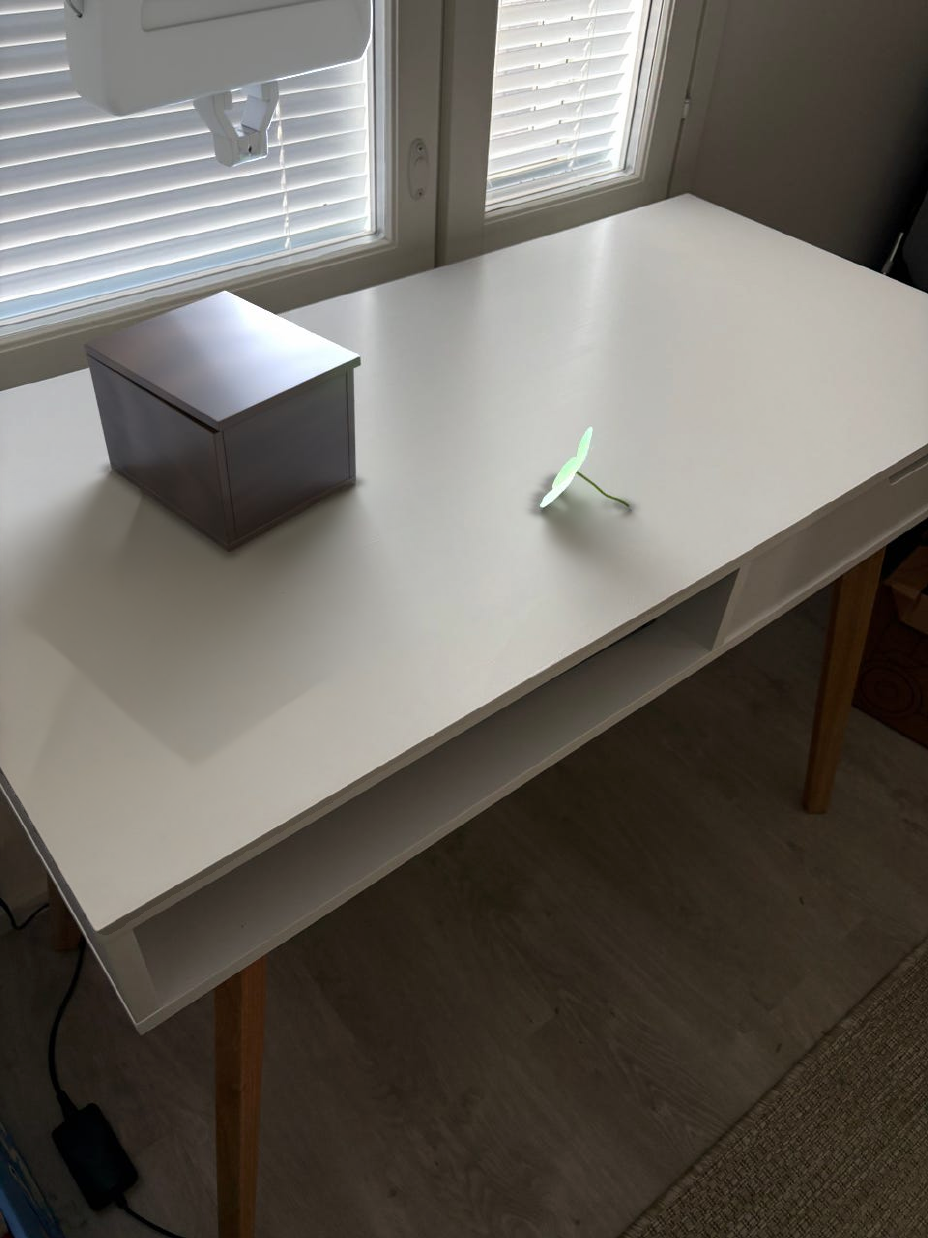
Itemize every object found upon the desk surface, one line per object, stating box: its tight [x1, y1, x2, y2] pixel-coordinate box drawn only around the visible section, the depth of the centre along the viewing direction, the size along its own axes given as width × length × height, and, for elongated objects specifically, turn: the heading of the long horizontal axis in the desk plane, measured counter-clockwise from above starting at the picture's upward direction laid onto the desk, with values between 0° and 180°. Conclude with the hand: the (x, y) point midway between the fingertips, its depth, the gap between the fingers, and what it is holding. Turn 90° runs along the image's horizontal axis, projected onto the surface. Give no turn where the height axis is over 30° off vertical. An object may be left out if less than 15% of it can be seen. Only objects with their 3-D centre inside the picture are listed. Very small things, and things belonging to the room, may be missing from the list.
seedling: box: [539, 426, 630, 508], centre depth 85 cm, size 7×8×6 cm
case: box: [85, 353, 357, 554], centre depth 82 cm, size 16×14×11 cm
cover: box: [83, 290, 362, 432], centre depth 78 cm, size 16×14×1 cm
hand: (242, 159), depth 65 cm, fingers closed
